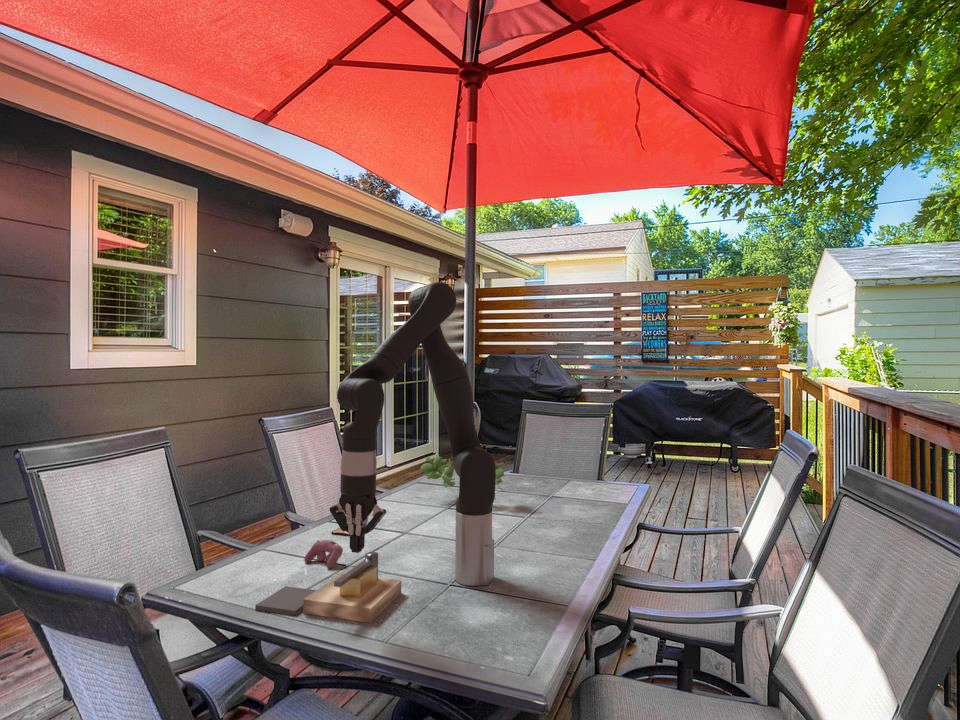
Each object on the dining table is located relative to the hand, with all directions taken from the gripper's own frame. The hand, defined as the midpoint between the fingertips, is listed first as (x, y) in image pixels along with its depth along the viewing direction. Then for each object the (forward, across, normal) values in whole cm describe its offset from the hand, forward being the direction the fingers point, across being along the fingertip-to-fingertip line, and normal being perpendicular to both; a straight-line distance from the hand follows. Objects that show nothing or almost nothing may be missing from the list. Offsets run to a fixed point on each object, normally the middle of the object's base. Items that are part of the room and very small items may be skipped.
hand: (356, 551), depth 122 cm
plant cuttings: (+13, +7, -103) cm, 104 cm away
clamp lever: (+10, +3, -5) cm, 12 cm away
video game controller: (+14, +24, -26) cm, 38 cm away
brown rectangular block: (+11, +2, -6) cm, 13 cm away
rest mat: (+14, +17, -2) cm, 22 cm away
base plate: (+14, +3, -6) cm, 15 cm away
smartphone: (+14, +32, -57) cm, 67 cm away
